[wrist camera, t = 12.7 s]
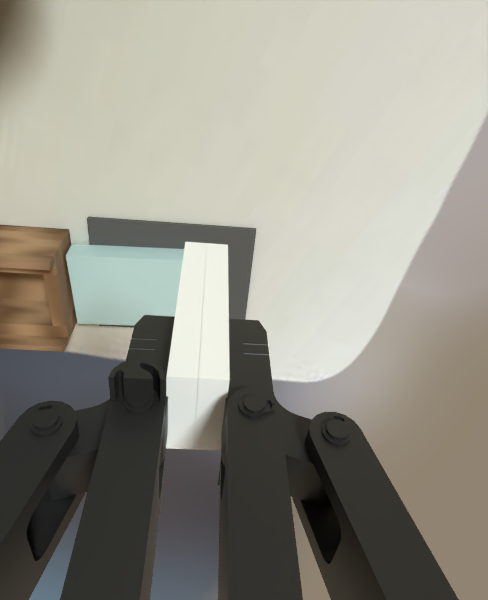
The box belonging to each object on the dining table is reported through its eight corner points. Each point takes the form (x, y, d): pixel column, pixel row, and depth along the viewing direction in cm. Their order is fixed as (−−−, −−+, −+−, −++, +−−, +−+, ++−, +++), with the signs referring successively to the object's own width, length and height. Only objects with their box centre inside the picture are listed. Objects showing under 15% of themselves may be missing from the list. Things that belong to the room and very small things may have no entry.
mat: (100, 323, 52) (99, 325, 51) (88, 216, 44) (87, 218, 44) (243, 330, 53) (243, 332, 53) (255, 228, 45) (256, 230, 45)
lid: (82, 310, 50) (77, 323, 48) (71, 243, 45) (65, 255, 43) (194, 314, 51) (193, 327, 49) (195, 249, 46) (194, 261, 44)
